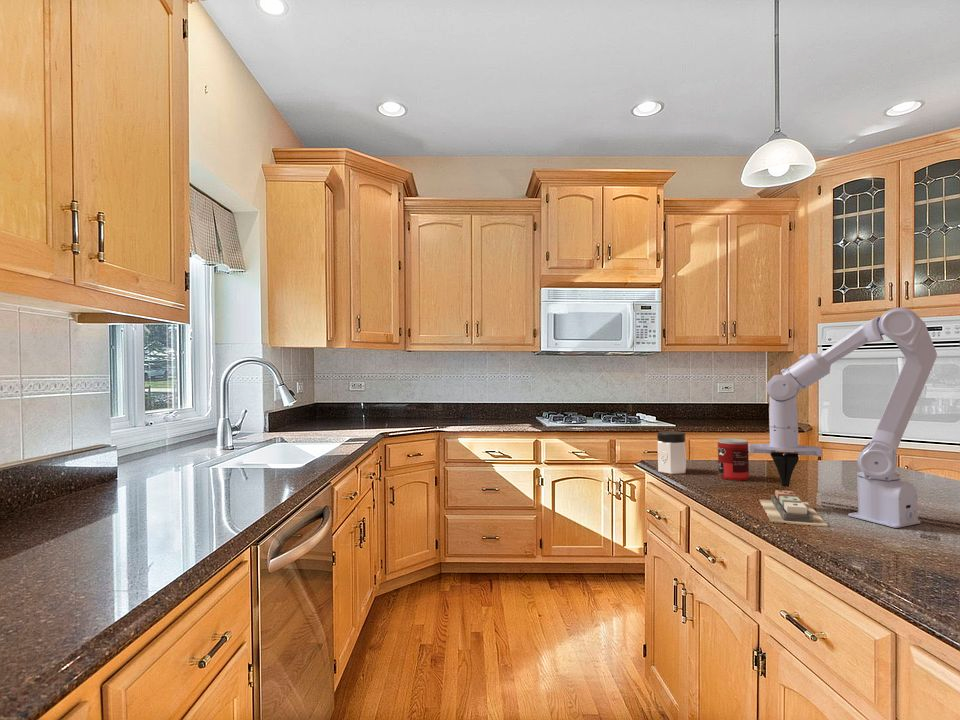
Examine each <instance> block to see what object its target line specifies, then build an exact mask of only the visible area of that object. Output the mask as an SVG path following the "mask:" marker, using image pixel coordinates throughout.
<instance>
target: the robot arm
mask: <svg viewBox="0 0 960 720" xmlns="http://www.w3.org/2000/svg"><path fill="white" fill-rule="evenodd" d="M883 336H886V337H887V338H888V339H889V340H891V341H892V342H893V343H895V344H896V345H897V347H898V349H899V350H900V352H901V353H902V355H903V356H904V358H905V360H904V363H903V364H902V367H901V369H900V372H899V374H898V376H897V378H896V382H895V384H894V386H893V389H892V390H891V393H890V396H889V398H888V401H887V403H886V405H885V407H884V410H883V412H882V414H881V416H880V419H879V422H878V424H877V426H876V428H875V431H874V434H873V436H872V438H871V439H870V442H868V443H867V444H865V445H864V446H863V447H862V448H861V450H860V451H861V452H859V454H858V457H857V465H858V468H859V470H858V471H857V472H856V481H857V483H856V485H857V486H856V487H857V488H856V489H857V511H855V512H851V513H850V512H849V513H848V515H847V516H848V517H851V518H855V519H859V520H863V521H866V522H871V523H875V524H878V525H882V526H883V525H884V526H886V527H887V526H888V527H891V528H895V529H898V528H902V527H903V528H904V527H908V526H912V525H917V524H918V525H919V524H921V521H920V520H919V515H918V514H919V512H918V511H919V510H918V505H919V504H918V493H917V491H918V490H917V488H916V486H915V484H913V483H912V482H911V483H910V482H907V481H904V480H902V479H901V475H900V474H899V473H897V472H896V469H897V462H898V455H897V450H898V449H899V446H900V444H901V441H902V438H903V436H904V434H905V431H906V429H907V427H908V425H909V422H910V419H911V418H912V415H913V413H914V410H915V408H916V406H917V403H918V401H919V398H920V396H921V394H922V392H923V390H924V387H925V385H926V383H927V381H928V379H929V375H930V374H931V371H932V369H933V367H934V364H935V362H936V359H937V355H938V354H937V350H936V348H935V345H934V342H933V340H932V338H931V335H930V332H929V330H928V328H927V325H926V323H925V322H924V321H923V319H922V318H921V317H920V316H919V315H918V314H917V312H915V311H913V310H911V309H909V308H907V307H894V308H890V309H888V310H886V311H885V312H884V313H883V314H882V315H881V317H880V316H876V317H874V318H872V319H870V320H868V321H866V322H865V323H863V324H861V325H859V326H858V327H857V328H856V329H854V330H852V331H851V332H849V333H848V334H847V335H845V336H844V337H842V338H841V339H839V340H838V341H837V342H835V343H834V344H833V345H831V346H829V347H828V348H827V349H826V350H824V351H823V352H821V353H817V352H816V353H814V352H812V353H811V352H810V353H808V354H801V356H799V358H798V359H799V360H798V361H797V362H795V363H794V364H792V365H790V366H789V367H788V368H786V367H785V368H783V369H781V370H780V373H781V374H776V375H773V376H772V377H771V378H770V379H769V380H768V381H767V383H766V387H765V388H766V393H767V394H768V396H769V400H768V402H769V407H768V414H769V415H768V416H769V420H768V422H769V443H748V454H768V455H769V454H770V456H771V458H772V461H773V463H774V464H775V465H774V466H775V467H776V470H777V472H778V476H779V479H780V485H781V487H790V481H791V478H792V475H793V471H794V470H795V468H796V466H797V464H798V462H799V459H800V458H799V456H815V457H823V448H822V447H821V446H814V445H813V446H812V445H801V444H799V424H798V423H799V421H798V419H799V416H798V414H799V412H798V406H797V395H798V394H799V392H800V390H803V391H804V390H806V389H807V388H808V387H810V386H812V385H813V384H815V383H816V382H818V381H820V380H822V379H823V378H824V377H825V376H827V375H829V374H831V366H832V364H834V363H836V362H838V361H839V360H841V359H842V358H844V357H846V356H848V355H849V354H851V353H853V352H855V350H857V349H859V348H860V347H862V346H864V345H866V344H869V343H874V342H875V343H876V342H881V341H884V337H883Z"/></svg>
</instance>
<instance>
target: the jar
mask: <svg viewBox="0 0 960 720" xmlns="http://www.w3.org/2000/svg"><path fill="white" fill-rule="evenodd" d="M656 438H657V471H658V472H659V473H664V474H670V475H675V474H676V475H677V474H686V472H687V457H686V456H687V453H686V448H687V447H686V433H685V432H683V431H677V430H664V431H663V430H662V431H658V432H657V437H656Z"/></svg>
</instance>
